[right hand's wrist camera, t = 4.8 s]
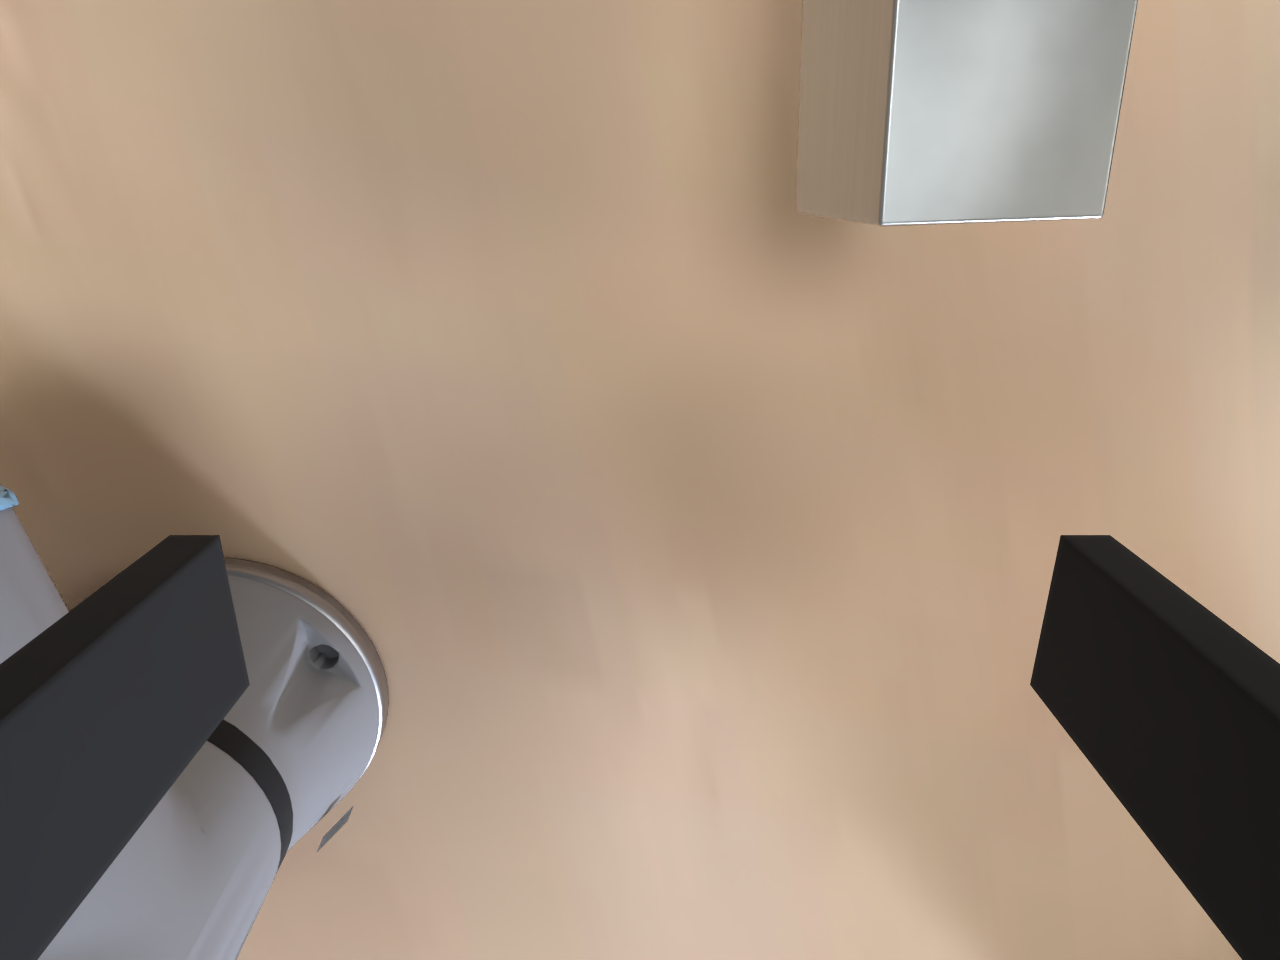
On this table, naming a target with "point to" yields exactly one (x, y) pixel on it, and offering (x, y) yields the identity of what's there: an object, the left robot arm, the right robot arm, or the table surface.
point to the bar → (959, 109)
